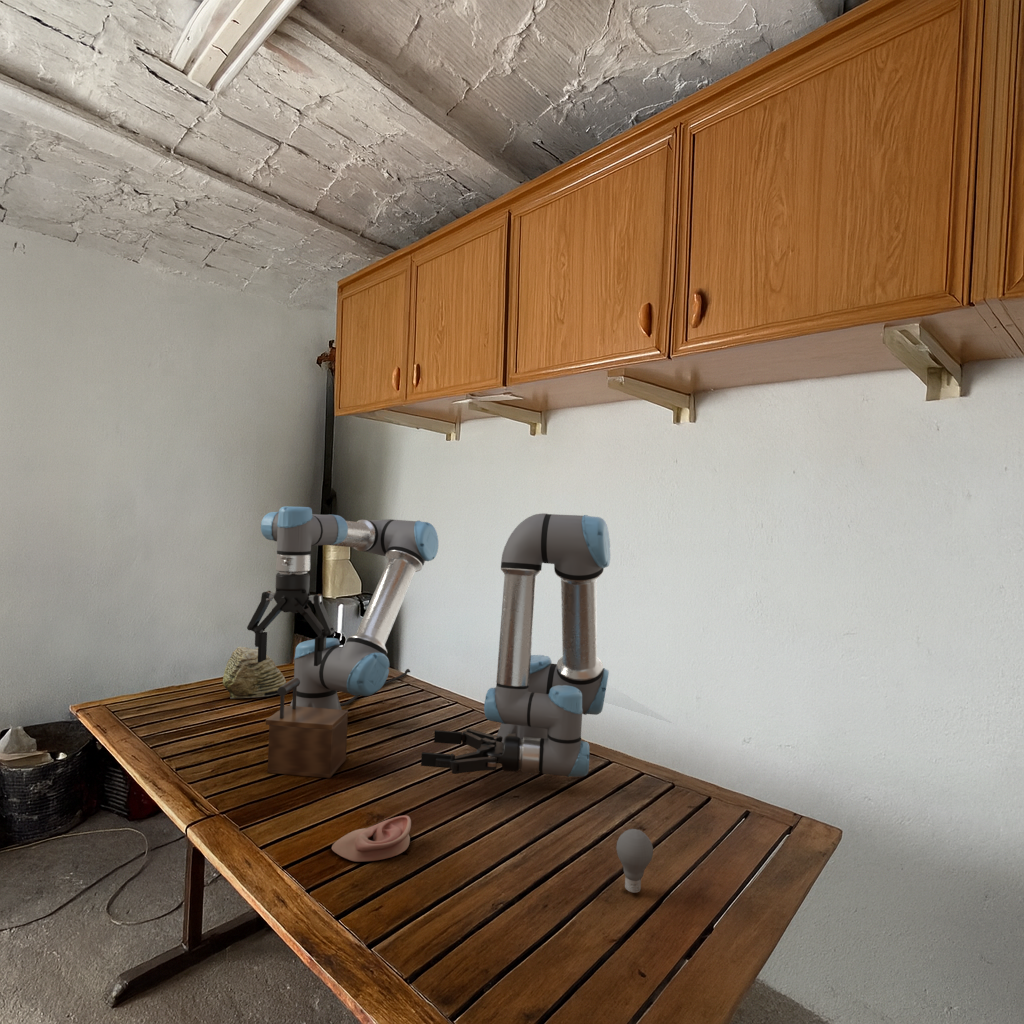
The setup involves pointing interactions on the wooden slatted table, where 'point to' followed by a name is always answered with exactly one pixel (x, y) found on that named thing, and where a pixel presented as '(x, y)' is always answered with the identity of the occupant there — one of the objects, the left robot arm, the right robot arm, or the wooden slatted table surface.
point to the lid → (303, 712)
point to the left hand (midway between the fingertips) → (289, 662)
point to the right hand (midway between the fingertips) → (428, 747)
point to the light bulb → (634, 857)
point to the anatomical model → (375, 841)
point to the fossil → (251, 675)
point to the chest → (307, 750)
